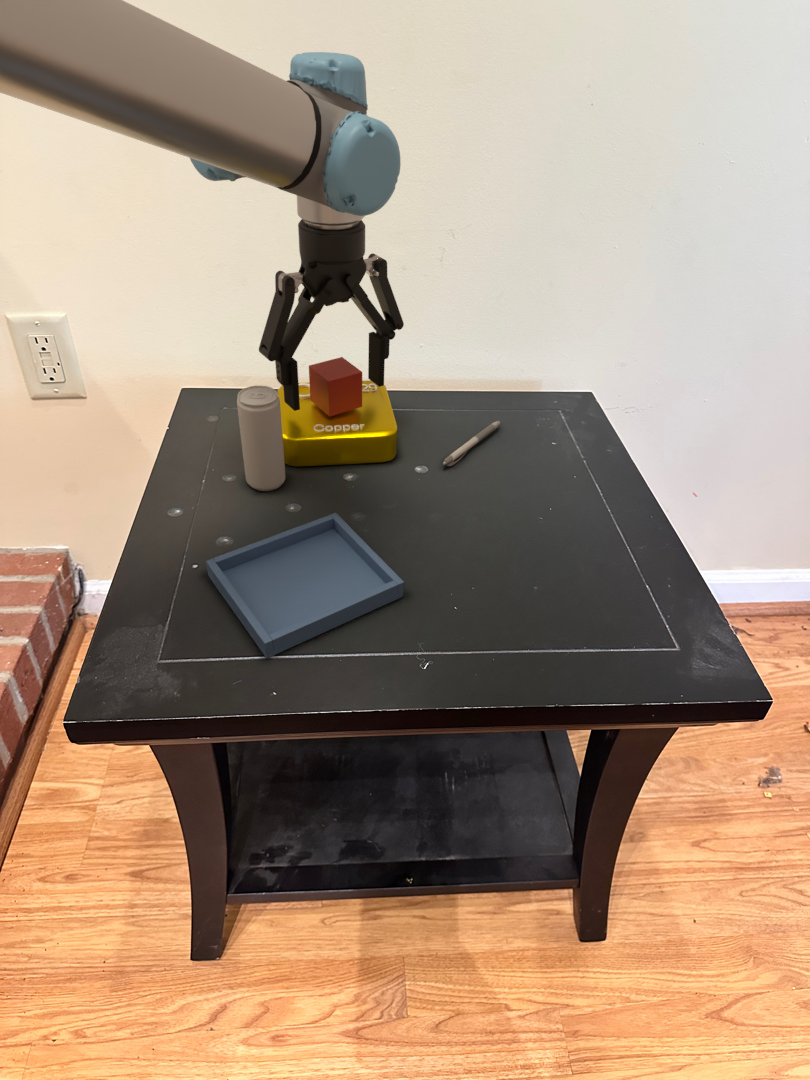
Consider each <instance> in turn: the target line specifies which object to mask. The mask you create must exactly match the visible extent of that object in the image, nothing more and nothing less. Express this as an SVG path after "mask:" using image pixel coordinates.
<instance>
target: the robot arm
mask: <svg viewBox="0 0 810 1080" xmlns="http://www.w3.org/2000/svg"><path fill="white" fill-rule="evenodd" d="M289 68H290V71H289V72H290V73H289V75H288V77H289V79H288V80H285V79H283V78H281V77H279V76H277V75H275V74H273V73H271V72H269V71H266V70H265V69H263V68H262V67H259V66H257V65H255V64H253V63H251V62H249V61H247V60H244V59H242V58H240V57H239V56H236V55H235V54H232V53H230V52H229V51H226V50H224V49H223V48H220V47H218V46H216V45H214V44H212V43H210V42H209V41H206V40H205V39H202V38H200V37H198V36H196V35H194V34H192V33H190V32H188V31H186V30H184V29H182V28H180V27H178V26H176V25H174V24H172V23H169V22H168V21H165V20H164V19H162V18H160V17H157V16H155V15H154V14H151V13H150V12H147V11H145V10H143V9H141V8H139V7H137V6H135V5H133V4H131V3H129V2H127V1H125V0H0V94H3V95H6V96H9V97H11V98H14V99H18V100H21V101H24V102H26V103H29V104H32V105H35V106H37V107H41V108H44V109H47V110H50V111H53V112H56V113H59V114H61V115H64V116H67V117H69V118H73V119H75V120H79V121H82V122H85V123H87V124H91V125H92V126H97V127H99V128H101V129H105V130H108V131H112V132H114V133H116V134H120V135H122V136H125V137H128V138H131V139H134V140H136V141H140V142H143V143H146V144H148V145H151V146H154V147H157V148H161V149H162V150H163V149H164V150H166V151H169V152H172V153H175V154H178V155H180V156H183V157H187V158H189V160H190V162H191V164H192V165H193V167H194V169H195V170H196V171H197V172H198V174H200V176H202V177H203V178H204V179H206V180H208V181H212V182H219V181H221V182H222V181H229V182H236V180H240V179H243V178H248V179H250V180H253V181H257V182H259V183H262V184H265V185H268V186H271V187H274V188H277V189H278V190H281V191H283V192H286V193H289V194H292V195H295V196H296V211H297V213H296V214H297V216H298V217H299V218H300V221H299V222H298V224H297V230H298V249H299V251H298V252H299V256H300V262H301V263H300V267H299V268H298V269H299V270H298V271H295V272H289V273H288V272H287V273H286V272H284V271H283V270H278V271H277V272H276V273H275V276H274V281H275V282H274V283H275V284H274V285H275V292H274V294H273V295H274V296H273V299H272V302H271V305H270V309H269V311H268V315H267V319H266V323H265V326H264V329H263V333H262V335H261V339H260V343H259V346H258V353H260V354H261V355H262V356H263V357H264V358H265V359H267V360H268V361H269V362H274V364H275V376H276V380H277V382H278V383H279V384H280V385H281V386H282V385H283V387H284V401H285V403H286V404H287V405H289V406H290V407H291V408H292V409H293V410H294V411H296V410H300V402H299V384H298V383H299V369H298V368H299V367H298V361H297V360H296V359H295V358H293V356H294V355H295V353H296V351H297V349H298V347H299V345H300V344H301V342H302V340H303V338H304V337H305V335H306V333H307V331H308V329H309V328H310V326H311V324H312V322H313V321H314V319H315V318H316V316H317V315H318V314H320V313H321V311H322V309H323V308H324V306H325V307H330V306H333V305H335V304H337V303H348V302H350V299H351V300H352V302H353V304H354V305H355V306H356V307H357V309H358V310H359V311H360V313H362V315H363V316H364V318H365V320H367V322H368V323H369V324H370V325H371V327H372V328H373V329H374V330H375V331H371V332H368V361H367V362H368V368H367V369H368V370H367V371H368V373H367V374H368V376H367V377H368V378H367V379H368V380H371V381H372V382H374V383H375V384H376V385H378V386H379V387H380V386H383V385H385V361H386V360H387V359H389V356H390V341H391V340H393V339H395V337H396V332H395V331H396V330H397V331H400V330H402V329H403V328H404V326H405V325H404V324H405V323H404V320H403V317H402V315H401V312H400V309H399V306H398V303H397V300H396V297H395V295H394V291H393V289H392V285H391V283H390V281H389V278H388V261H387V259H384V258H383V257H381V256H379V255H377V254H376V253H370V254H369V255H368V257H367V258H365V259H364V256H365V254H366V224H365V222H364V221H363V219H364V218H365V217H366V216H368V215H373V214H374V213H376V212H378V211H380V210H381V209H383V207H385V206H386V205H387V203H388V202H389V201H390V199H391V197H392V196H393V195H394V192H395V190H396V186H397V183H398V177H399V175H400V173H401V166H402V165H401V164H402V163H401V151H400V146H399V142H398V140H397V138H396V135H395V134H394V132H393V131H392V129H391V128H390V127H389V126H388V125H387V124H386V123H385V122H383V121H381V120H380V119H377V118H375V117H371V116H369V115H368V114H367V113H368V112H367V111H368V109H369V108H368V101H367V83H366V82H367V80H366V71H365V66H364V64H363V62H362V61H361V59H359V58H358V57H356V56H354V55H350V54H346V53H341V52H328V51H308V52H302V53H296V54H294V55H293V57H291V60H290V67H289ZM365 275H367V276H368V277H369V280H370V283H371V285H372V288H373V291H374V294H375V296H376V299H377V301H378V304H379V306H380V309H381V312H382V315H383V316H382V315H381V314H380V312H379V311H378V309H377V308H376V307H375V304H373V302H372V301H371V300H370V298H369V295H368V293H366V291H365V290H364V288H363V287H362V286H361V282H362V280H363V278H364V277H365ZM300 285H302V286H303V288H302V290H301V292H300V294H299V296H298V298H297V305H296V306H295V308H294V310H293V306H294V303H295V297H296V294H298V293H299V291H300V290H299V287H300ZM312 299H313V300H312ZM311 300H312V301H311ZM292 310H293V311H292ZM291 313H292V314H291Z"/></svg>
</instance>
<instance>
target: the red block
mask: <svg viewBox="0 0 810 1080" xmlns="http://www.w3.org/2000/svg"><path fill="white" fill-rule="evenodd" d="M308 380H309V382H308V383H310V400H311V401H312V402H313V403H314V404H315V405H316V406H318V407H319V408H320V409H321V410H322V411H323V412H325V413H326V414H327V415H328V416H329V417H330V416H333V415H336V414H340V413H343V412H346V411H350V410H353V409H356V408H360V407H362V381H363V371H362V370H360V369H359V368H357V366H355V365H354V364H352V363H351V362H350V361H348V360H347V359H346V358H344V357H343V356H340V357H336V358H332V359H329V360H325V361H321V362H317V363H314V364H313V363H312V364H309V365H308Z"/></svg>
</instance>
